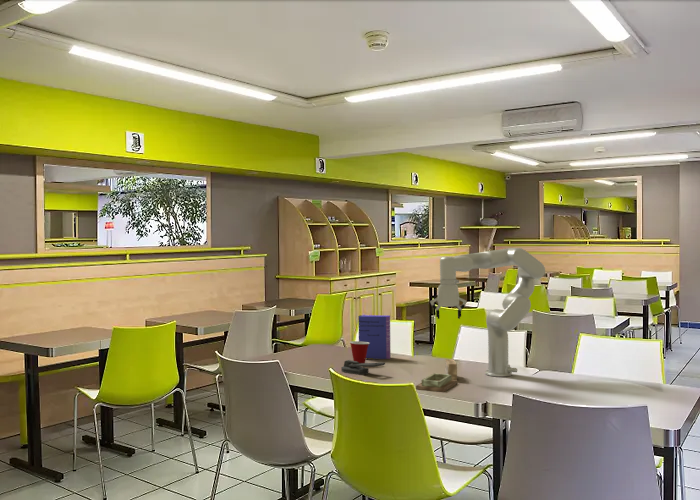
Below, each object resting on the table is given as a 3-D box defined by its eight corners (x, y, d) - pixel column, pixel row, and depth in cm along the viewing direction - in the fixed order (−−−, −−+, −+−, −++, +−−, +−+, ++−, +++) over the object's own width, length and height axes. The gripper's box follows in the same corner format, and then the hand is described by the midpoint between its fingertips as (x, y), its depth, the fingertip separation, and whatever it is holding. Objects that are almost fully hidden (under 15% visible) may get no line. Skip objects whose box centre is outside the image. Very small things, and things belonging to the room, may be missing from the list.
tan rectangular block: (454, 375, 305) (454, 359, 305) (457, 381, 293) (457, 364, 293) (445, 375, 305) (445, 359, 305) (448, 381, 293) (448, 364, 293)
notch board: (457, 383, 288) (456, 374, 288) (444, 391, 272) (444, 382, 272) (430, 381, 294) (430, 372, 294) (416, 389, 278) (415, 380, 278)
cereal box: (390, 357, 356) (390, 315, 356) (389, 359, 352) (389, 316, 351) (360, 357, 359) (359, 315, 359) (358, 358, 354) (358, 316, 354)
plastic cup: (374, 363, 338) (373, 341, 337) (358, 366, 331) (358, 343, 331) (360, 361, 346) (360, 339, 346) (345, 363, 339) (345, 341, 339)
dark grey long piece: (374, 364, 301) (338, 358, 319) (374, 378, 301) (338, 371, 319) (387, 362, 307) (351, 356, 325) (387, 375, 307) (351, 369, 325)
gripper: (465, 282, 303) (466, 317, 303) (429, 282, 305) (430, 317, 305) (467, 283, 296) (467, 319, 296) (430, 283, 297) (430, 319, 298)
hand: (448, 318), depth 300 cm, fingers open, 9 cm apart
